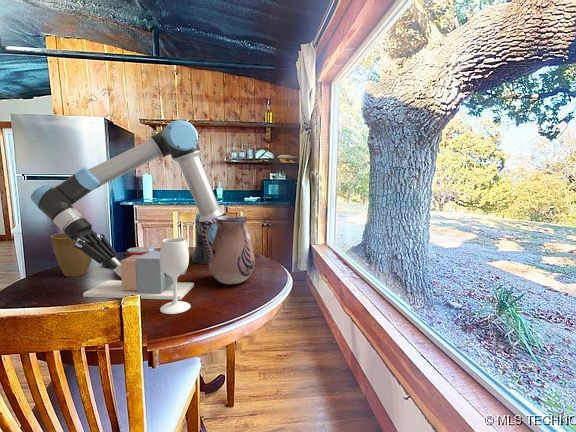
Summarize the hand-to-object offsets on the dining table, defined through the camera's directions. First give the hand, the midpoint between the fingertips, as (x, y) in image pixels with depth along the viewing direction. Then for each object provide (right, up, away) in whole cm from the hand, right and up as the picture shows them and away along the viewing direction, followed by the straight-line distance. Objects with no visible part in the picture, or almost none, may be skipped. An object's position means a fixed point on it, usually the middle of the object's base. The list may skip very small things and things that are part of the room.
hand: (124, 273), depth 103 cm
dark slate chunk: (-17, -2, +36) cm, 40 cm away
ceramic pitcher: (+34, -6, +12) cm, 36 cm away
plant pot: (-29, -4, +18) cm, 34 cm away
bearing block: (+7, -6, +1) cm, 9 cm away
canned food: (-3, -4, +17) cm, 18 cm away
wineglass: (+22, -8, -12) cm, 27 cm away
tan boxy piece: (+11, -5, 0) cm, 12 cm away
